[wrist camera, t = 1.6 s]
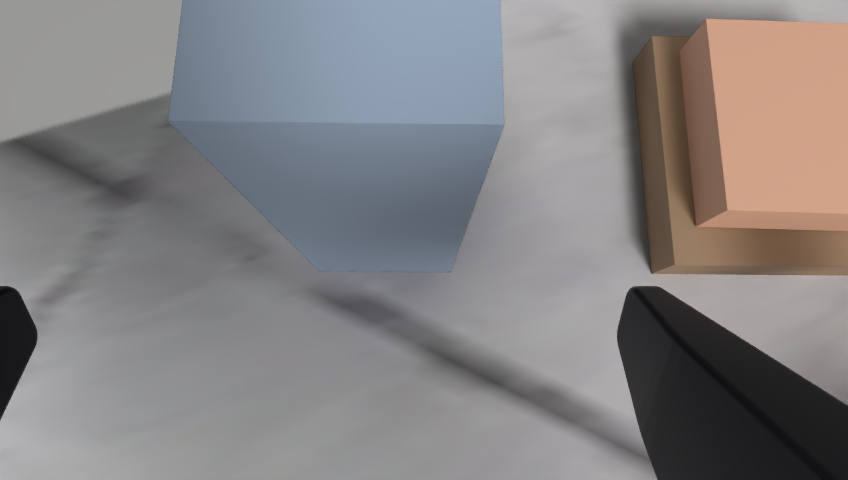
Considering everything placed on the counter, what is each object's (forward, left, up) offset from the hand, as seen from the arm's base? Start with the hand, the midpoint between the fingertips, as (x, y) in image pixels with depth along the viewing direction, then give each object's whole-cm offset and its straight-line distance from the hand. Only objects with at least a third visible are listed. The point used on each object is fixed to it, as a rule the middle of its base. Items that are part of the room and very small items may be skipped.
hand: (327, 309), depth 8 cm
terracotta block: (-7, -15, -10) cm, 20 cm away
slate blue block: (+3, -4, -12) cm, 13 cm away
